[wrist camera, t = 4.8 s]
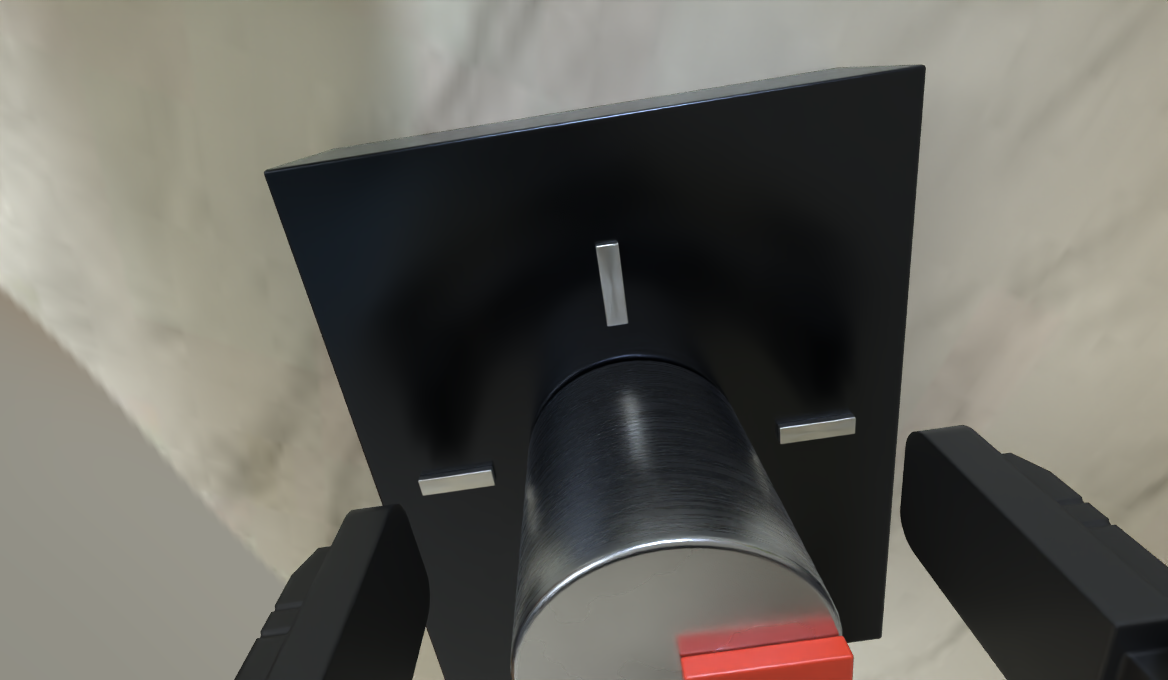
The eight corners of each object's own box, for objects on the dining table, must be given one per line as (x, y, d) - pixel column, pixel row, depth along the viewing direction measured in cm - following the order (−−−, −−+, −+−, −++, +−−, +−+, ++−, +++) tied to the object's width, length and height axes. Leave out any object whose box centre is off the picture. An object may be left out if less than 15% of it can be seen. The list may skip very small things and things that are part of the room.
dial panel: (468, 594, 17) (449, 704, 14) (331, 148, 12) (256, 172, 9) (828, 544, 16) (886, 645, 13) (839, 67, 11) (934, 63, 9)
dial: (548, 550, 12) (541, 819, 8) (509, 376, 10) (472, 593, 6) (744, 522, 12) (851, 780, 8) (735, 342, 10) (864, 537, 6)
